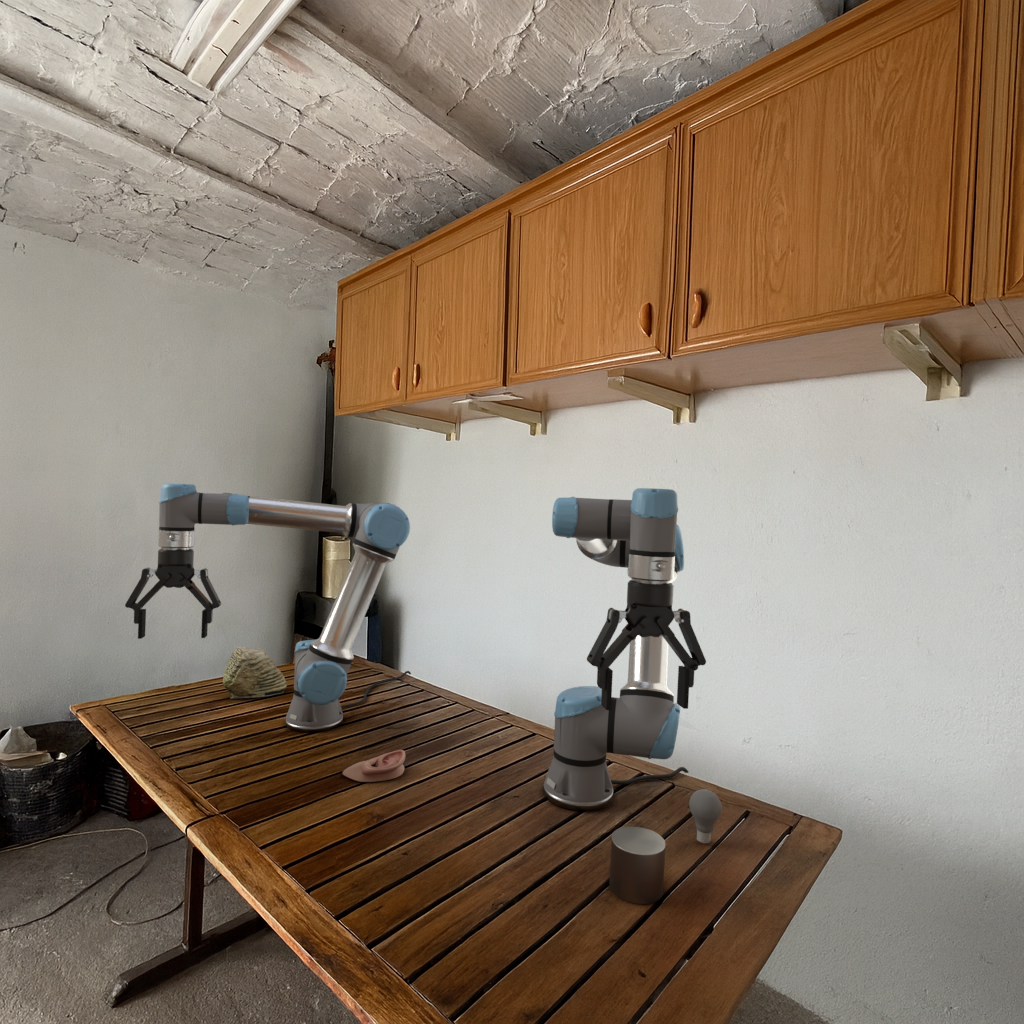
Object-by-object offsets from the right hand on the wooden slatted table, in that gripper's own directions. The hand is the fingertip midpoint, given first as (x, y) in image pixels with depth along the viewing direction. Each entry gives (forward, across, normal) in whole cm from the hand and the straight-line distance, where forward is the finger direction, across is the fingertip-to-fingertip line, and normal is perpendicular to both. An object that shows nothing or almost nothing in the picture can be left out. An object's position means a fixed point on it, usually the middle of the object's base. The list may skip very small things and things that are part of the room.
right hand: (644, 707), depth 106 cm
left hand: (+2, -93, +63) cm, 112 cm away
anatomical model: (+31, -44, +49) cm, 73 cm away
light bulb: (+31, +19, +12) cm, 38 cm away
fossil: (+31, -83, +109) cm, 140 cm away
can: (+31, 0, 0) cm, 31 cm away
